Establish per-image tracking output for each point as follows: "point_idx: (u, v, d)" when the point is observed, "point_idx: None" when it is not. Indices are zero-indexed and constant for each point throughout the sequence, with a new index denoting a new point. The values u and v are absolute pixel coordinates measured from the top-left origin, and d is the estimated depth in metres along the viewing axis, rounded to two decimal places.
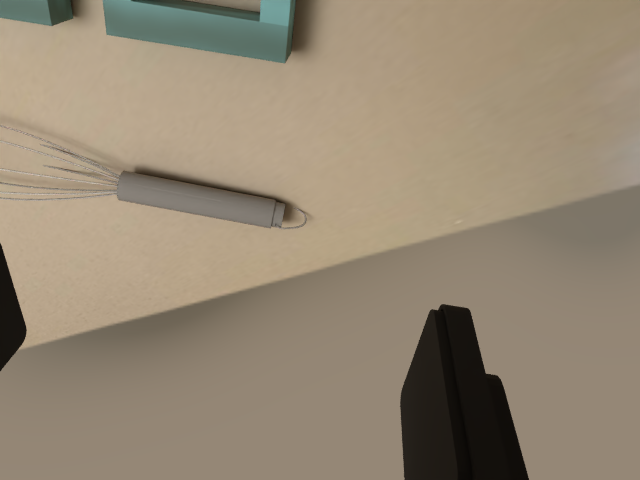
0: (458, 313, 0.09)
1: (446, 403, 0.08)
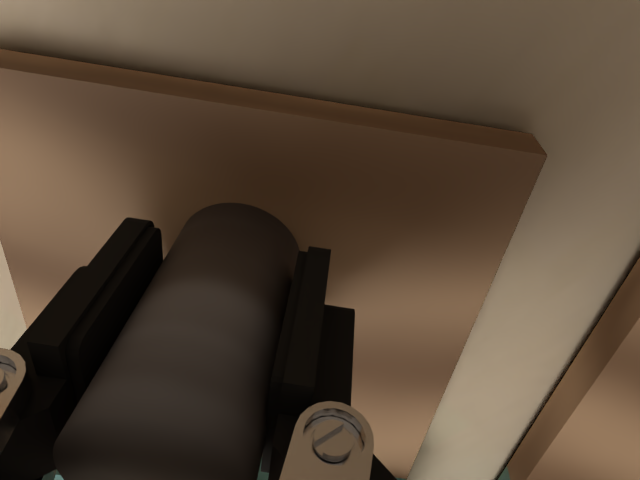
0: (318, 252, 0.10)
1: (283, 321, 0.09)
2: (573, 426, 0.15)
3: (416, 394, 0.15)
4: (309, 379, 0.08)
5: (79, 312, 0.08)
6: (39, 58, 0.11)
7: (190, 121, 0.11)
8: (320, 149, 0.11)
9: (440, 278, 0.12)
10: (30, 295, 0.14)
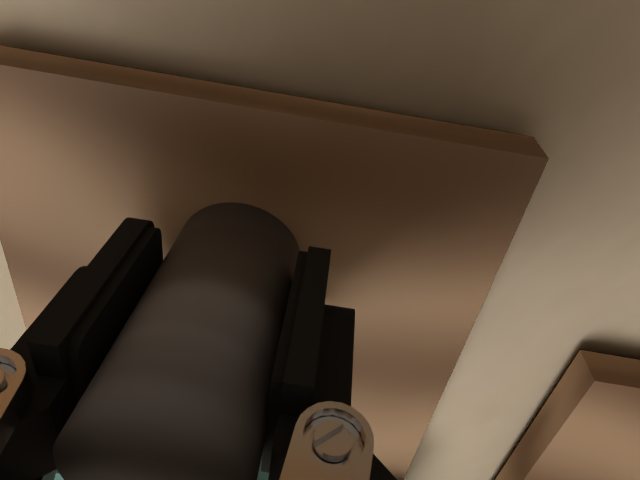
0: (319, 252, 0.10)
1: (283, 321, 0.09)
2: None
3: (414, 395, 0.15)
4: (309, 378, 0.08)
5: (79, 312, 0.08)
6: (40, 55, 0.11)
7: (192, 120, 0.11)
8: (322, 150, 0.11)
9: (440, 279, 0.12)
10: (29, 293, 0.14)
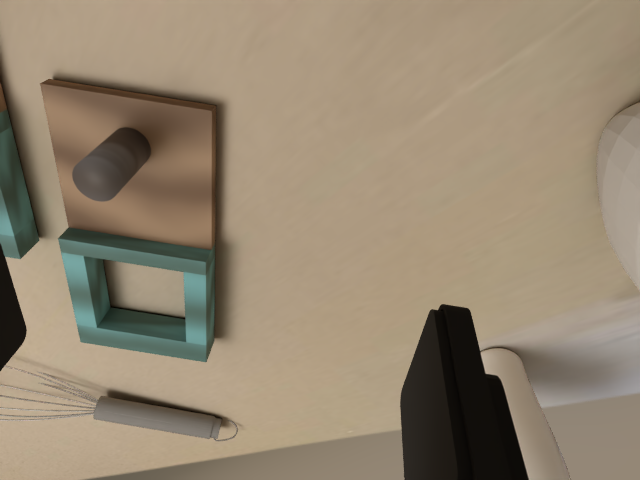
0: (458, 313, 0.09)
1: (446, 403, 0.08)
2: (63, 185, 0.41)
3: None
4: None
5: None
6: None
7: None
8: None
9: None
10: None
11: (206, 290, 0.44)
